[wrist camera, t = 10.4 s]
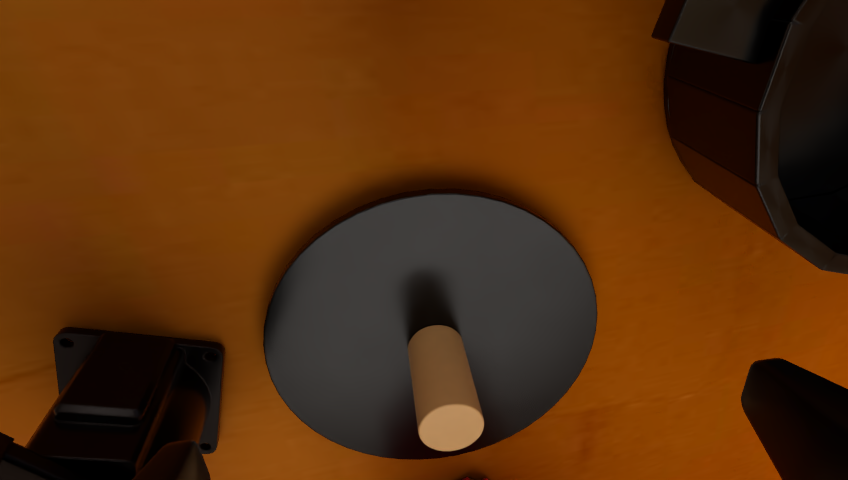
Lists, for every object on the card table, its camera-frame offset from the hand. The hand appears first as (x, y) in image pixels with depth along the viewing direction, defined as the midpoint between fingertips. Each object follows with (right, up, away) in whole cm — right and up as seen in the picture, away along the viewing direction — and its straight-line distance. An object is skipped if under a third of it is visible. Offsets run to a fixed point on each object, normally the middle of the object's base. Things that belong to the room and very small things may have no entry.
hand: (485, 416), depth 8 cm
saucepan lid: (-1, -2, +15) cm, 15 cm away
